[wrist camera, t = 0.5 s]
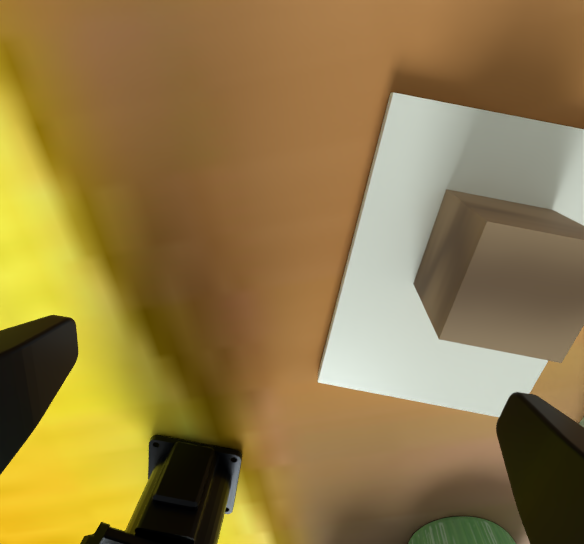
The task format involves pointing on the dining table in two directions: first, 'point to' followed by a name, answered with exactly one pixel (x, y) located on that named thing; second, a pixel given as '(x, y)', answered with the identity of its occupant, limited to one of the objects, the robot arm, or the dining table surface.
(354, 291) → the board
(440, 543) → the ramekin
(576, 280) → the walnut block
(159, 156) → the dining table surface
